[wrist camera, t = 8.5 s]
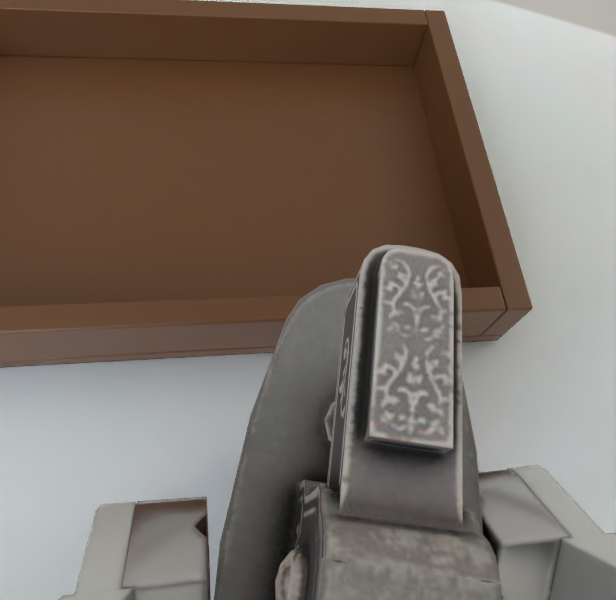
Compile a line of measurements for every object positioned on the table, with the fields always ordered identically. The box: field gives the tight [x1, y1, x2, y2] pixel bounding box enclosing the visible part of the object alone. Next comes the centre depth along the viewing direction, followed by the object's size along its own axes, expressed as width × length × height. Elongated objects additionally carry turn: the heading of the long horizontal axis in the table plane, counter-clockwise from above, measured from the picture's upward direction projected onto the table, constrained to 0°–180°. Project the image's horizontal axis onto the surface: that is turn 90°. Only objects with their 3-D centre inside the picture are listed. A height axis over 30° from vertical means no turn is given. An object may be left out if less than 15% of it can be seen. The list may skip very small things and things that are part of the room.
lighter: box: [214, 245, 502, 600], centre depth 9 cm, size 8×3×10 cm, turn 173°
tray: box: [0, 0, 532, 367], centre depth 19 cm, size 19×13×2 cm
